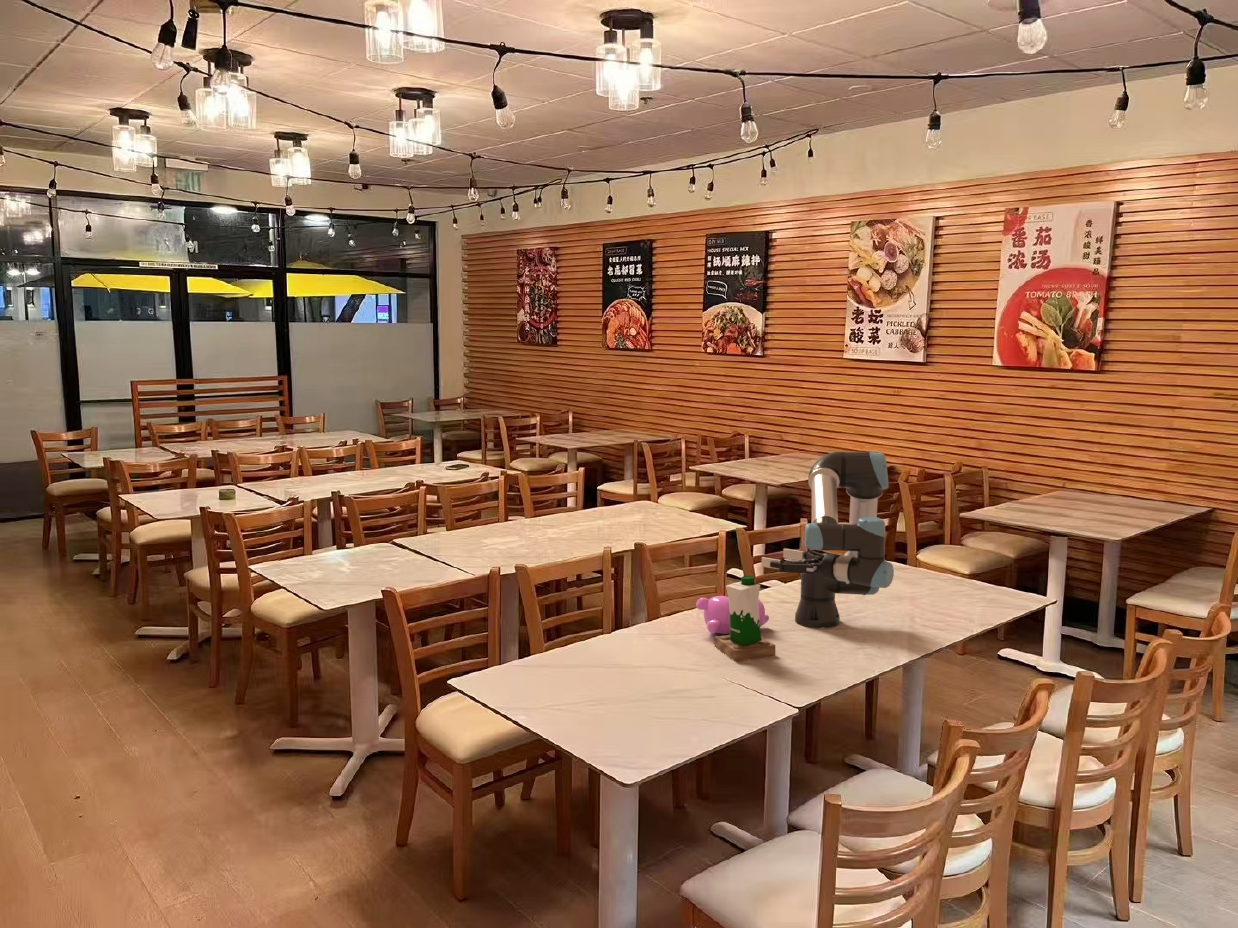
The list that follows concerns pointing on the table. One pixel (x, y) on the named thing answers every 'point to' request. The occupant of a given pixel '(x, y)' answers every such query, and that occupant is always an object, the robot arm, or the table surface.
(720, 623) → the toy character
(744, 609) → the soya milk
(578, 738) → the table surface
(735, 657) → the base brick
